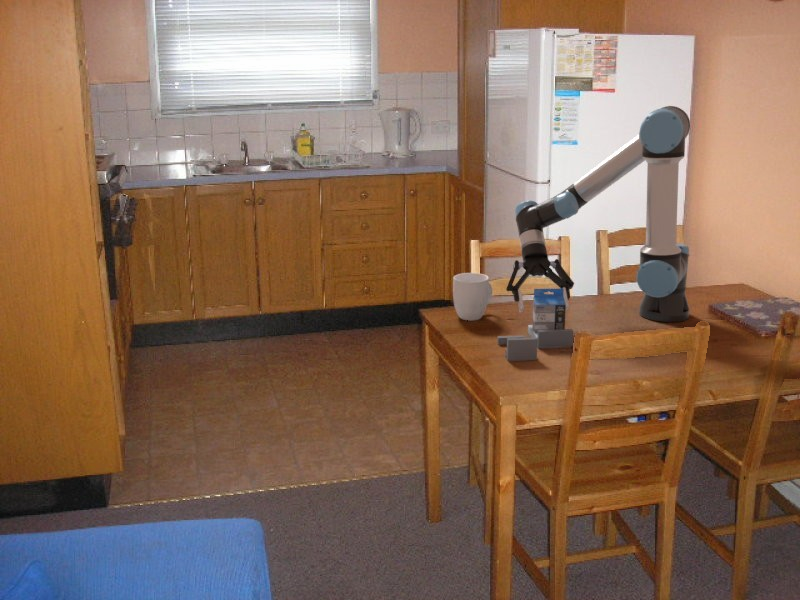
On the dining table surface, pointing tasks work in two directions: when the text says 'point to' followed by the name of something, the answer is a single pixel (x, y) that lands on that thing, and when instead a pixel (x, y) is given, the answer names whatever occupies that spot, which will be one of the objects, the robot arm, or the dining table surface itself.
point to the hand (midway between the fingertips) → (544, 309)
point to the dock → (552, 338)
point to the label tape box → (548, 310)
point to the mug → (471, 295)
